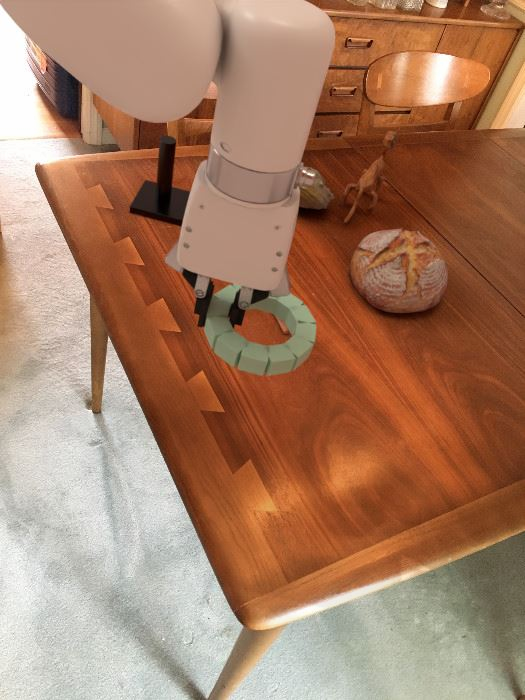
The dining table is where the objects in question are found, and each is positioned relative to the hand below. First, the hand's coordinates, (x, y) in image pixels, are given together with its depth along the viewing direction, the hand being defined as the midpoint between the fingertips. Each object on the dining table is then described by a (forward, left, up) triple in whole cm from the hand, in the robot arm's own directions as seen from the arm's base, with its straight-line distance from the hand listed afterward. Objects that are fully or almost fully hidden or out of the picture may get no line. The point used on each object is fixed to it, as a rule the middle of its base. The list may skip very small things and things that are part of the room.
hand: (217, 321), depth 59 cm
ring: (+5, 0, 0) cm, 5 cm away
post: (-16, +40, -15) cm, 45 cm away
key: (+6, +23, -15) cm, 28 cm away
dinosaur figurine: (+19, +56, -15) cm, 61 cm away
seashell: (+6, +52, -15) cm, 54 cm away
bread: (+26, +35, -15) cm, 46 cm away
